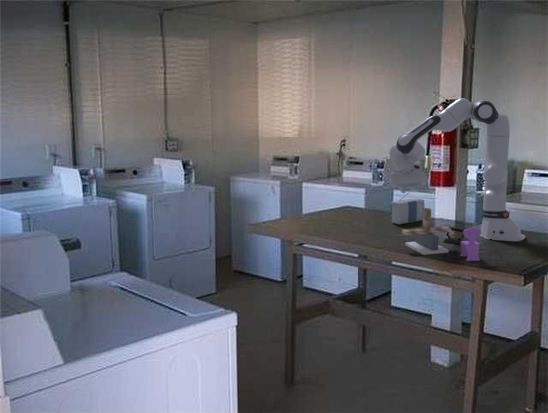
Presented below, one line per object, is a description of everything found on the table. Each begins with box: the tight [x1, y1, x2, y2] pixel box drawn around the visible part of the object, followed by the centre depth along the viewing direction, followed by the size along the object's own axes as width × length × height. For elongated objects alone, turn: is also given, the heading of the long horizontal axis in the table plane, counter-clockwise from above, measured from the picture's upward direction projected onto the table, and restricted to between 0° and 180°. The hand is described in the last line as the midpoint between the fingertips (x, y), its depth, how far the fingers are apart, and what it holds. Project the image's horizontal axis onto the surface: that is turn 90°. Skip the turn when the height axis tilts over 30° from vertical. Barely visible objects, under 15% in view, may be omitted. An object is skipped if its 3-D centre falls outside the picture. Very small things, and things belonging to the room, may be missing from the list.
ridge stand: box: [404, 233, 449, 256], centre depth 299 cm, size 20×13×8 cm, turn 12°
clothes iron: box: [442, 225, 466, 245], centre depth 311 cm, size 7×11×10 cm, turn 46°
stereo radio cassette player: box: [391, 188, 426, 225], centre depth 364 cm, size 21×8×20 cm, turn 123°
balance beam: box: [401, 207, 452, 236], centre depth 298 cm, size 24×4×12 cm, turn 102°
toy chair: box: [460, 226, 481, 262], centre depth 280 cm, size 8×9×15 cm
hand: (412, 191), depth 315 cm, fingers open, 8 cm apart
